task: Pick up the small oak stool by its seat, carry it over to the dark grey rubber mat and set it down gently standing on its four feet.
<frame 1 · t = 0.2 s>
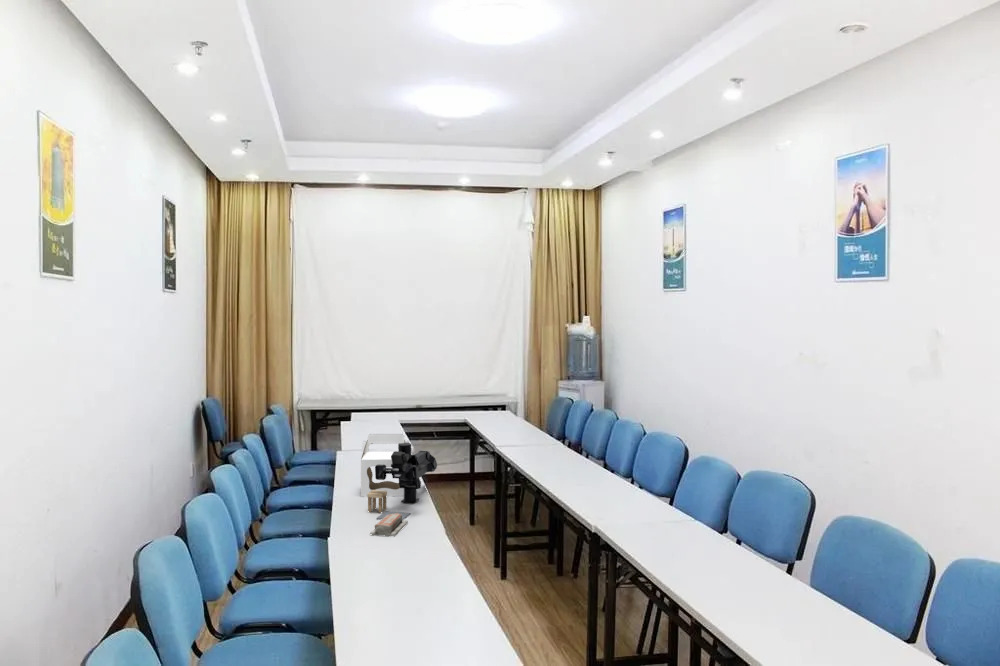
hand: (389, 477, 306), 17 cm above the table, tool horizontal, fingers open, 9 cm apart
packaged product: (389, 530, 290), on the table
gable box: (385, 493, 346), on the table
stool: (377, 510, 316), on the table
mat: (393, 516, 307), on the table
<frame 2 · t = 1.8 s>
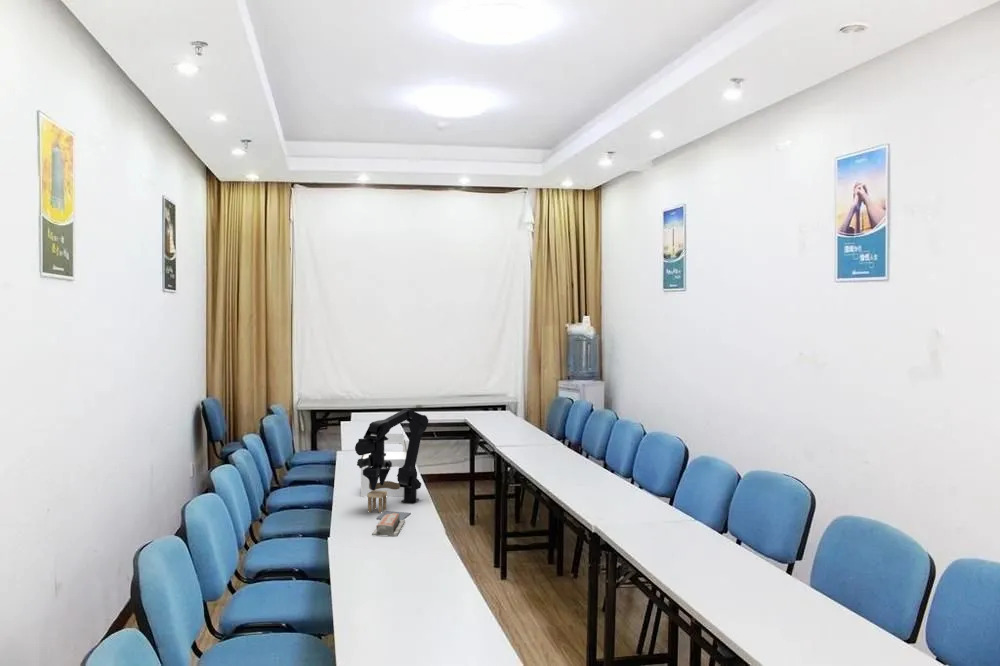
hand: (377, 487, 315), 10 cm above the table, tool pointing down, fingers open, 9 cm apart
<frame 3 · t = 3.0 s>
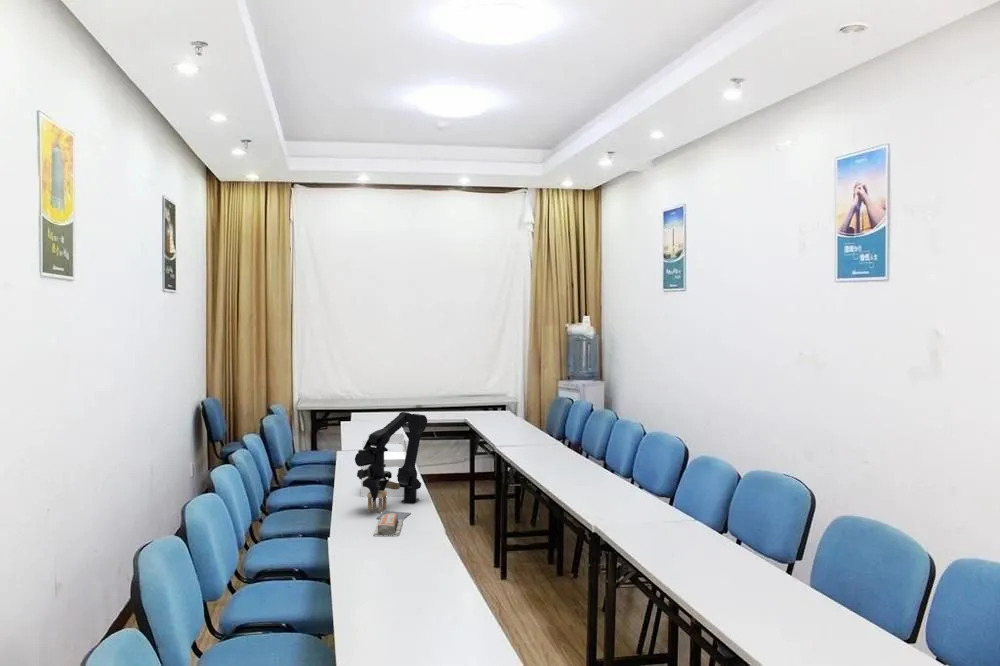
hand: (377, 498, 315), 5 cm above the table, tool pointing down, fingers closed on stool, 6 cm apart
stool: (377, 510, 316), on the table, touching gripper
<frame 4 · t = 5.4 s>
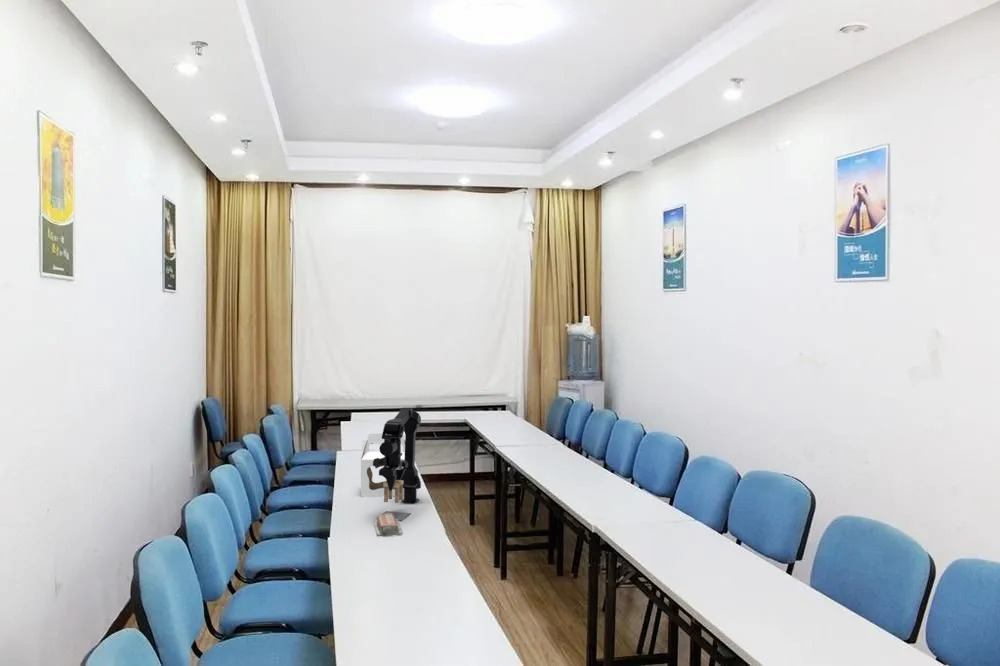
hand: (393, 488, 307), 12 cm above the table, tool pointing down, fingers closed on stool, 6 cm apart
stool: (393, 500, 307), point 7 cm above the table, touching gripper
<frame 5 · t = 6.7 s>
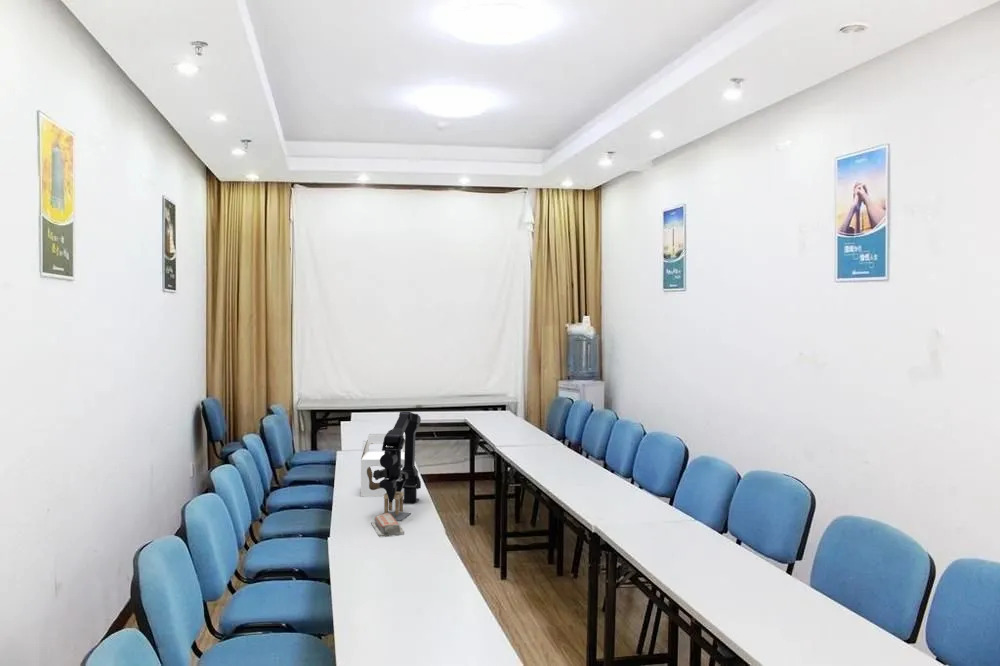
hand: (393, 500, 307), 7 cm above the table, tool pointing down, fingers closed on stool, 6 cm apart
stool: (393, 512, 307), point 2 cm above the table, touching gripper
when the fingers open (7 cm above the table, at t = 7.6 s): stool drops 1 cm, resting on mat.
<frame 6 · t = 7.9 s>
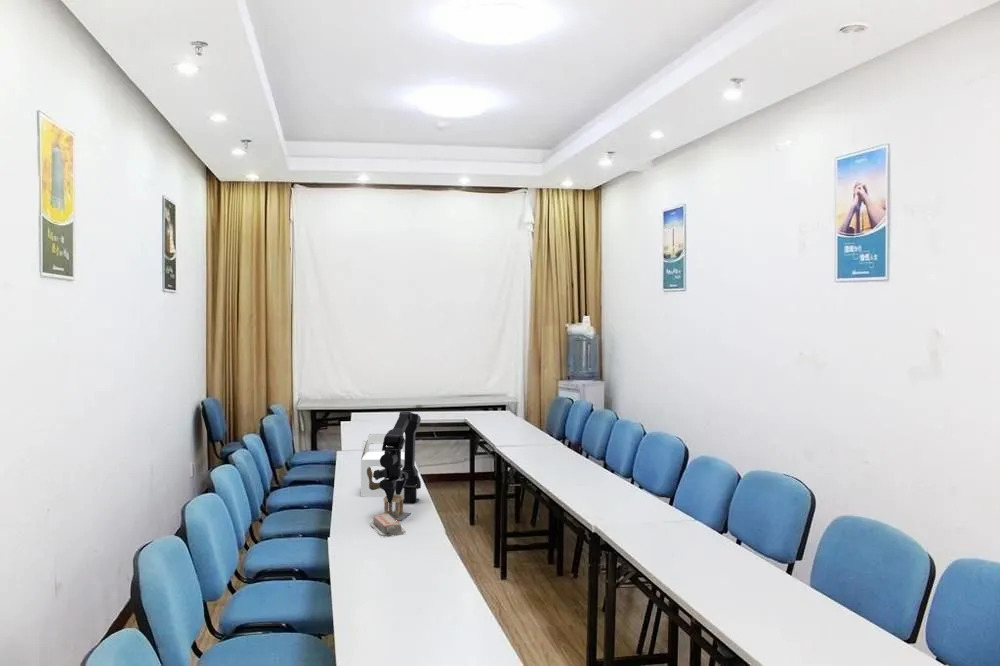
hand: (393, 500, 307), 7 cm above the table, tool pointing down, fingers open, 9 cm apart
stool: (393, 515, 307), resting on mat
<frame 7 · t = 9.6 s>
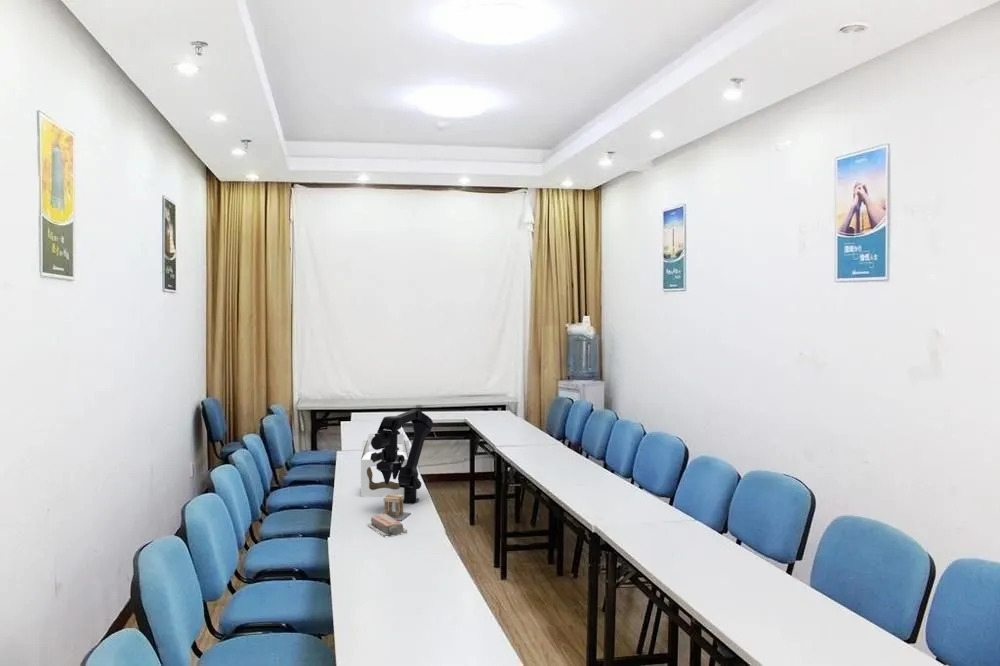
hand: (390, 481, 318), 12 cm above the table, tool pointing down, fingers open, 9 cm apart
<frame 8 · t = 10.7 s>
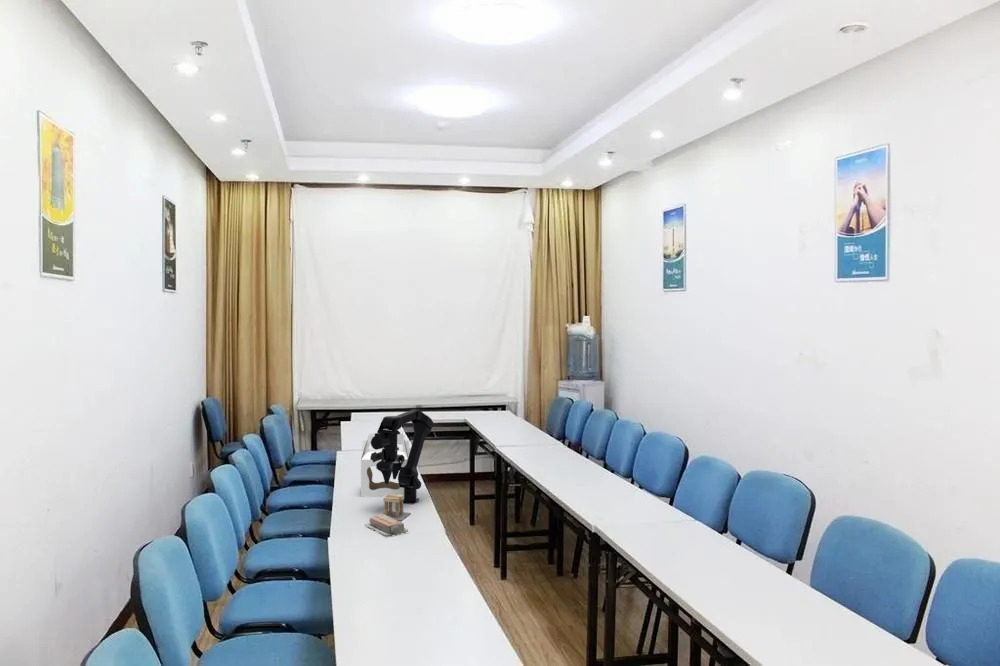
hand: (390, 481, 318), 12 cm above the table, tool pointing down, fingers open, 9 cm apart
at the end: stool 0.0 cm off-centre on the mat, point 0.5 cm above the mat's base; stool tilted 0°; the gripper is holding nothing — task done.
